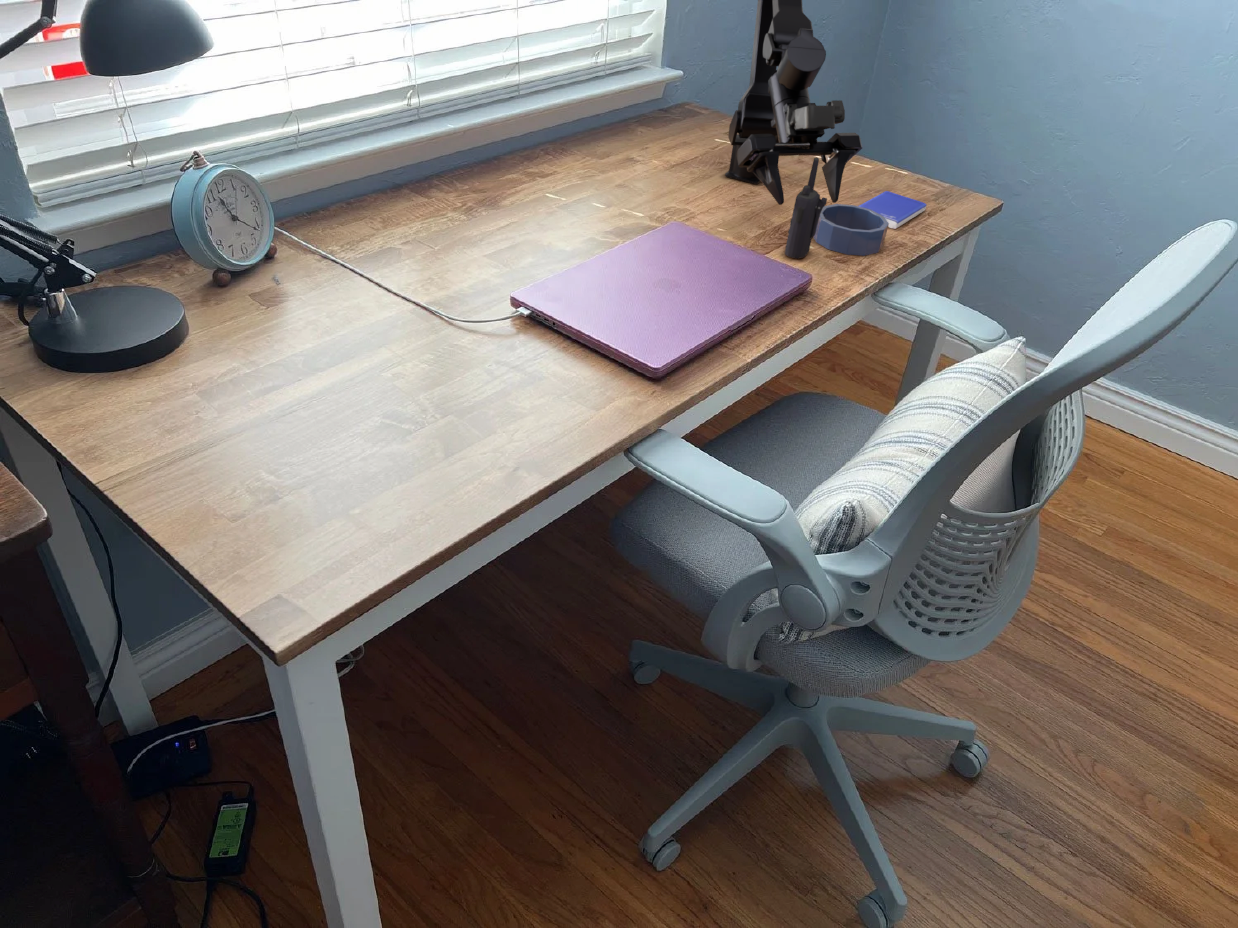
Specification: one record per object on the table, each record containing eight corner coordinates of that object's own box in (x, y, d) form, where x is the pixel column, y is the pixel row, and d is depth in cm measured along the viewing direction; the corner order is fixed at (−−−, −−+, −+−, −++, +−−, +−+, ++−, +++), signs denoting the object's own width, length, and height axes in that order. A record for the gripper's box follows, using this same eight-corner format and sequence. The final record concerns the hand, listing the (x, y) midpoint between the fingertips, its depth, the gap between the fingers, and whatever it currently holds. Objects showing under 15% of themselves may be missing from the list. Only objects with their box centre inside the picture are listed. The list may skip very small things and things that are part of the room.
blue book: (898, 221, 161) (927, 203, 169) (854, 206, 164) (885, 190, 172) (895, 230, 161) (924, 211, 170) (852, 215, 165) (883, 198, 173)
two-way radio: (791, 245, 152) (811, 152, 143) (818, 252, 151) (839, 159, 142) (780, 257, 148) (800, 162, 139) (808, 264, 147) (829, 169, 138)
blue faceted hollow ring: (804, 243, 154) (809, 219, 151) (825, 221, 162) (830, 199, 159) (871, 261, 150) (877, 237, 147) (889, 238, 158) (895, 215, 156)
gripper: (758, 78, 136) (776, 182, 134) (871, 79, 141) (890, 178, 140) (728, 116, 147) (744, 213, 145) (835, 115, 152) (852, 208, 150)
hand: (808, 202), depth 145 cm, fingers open, 9 cm apart
